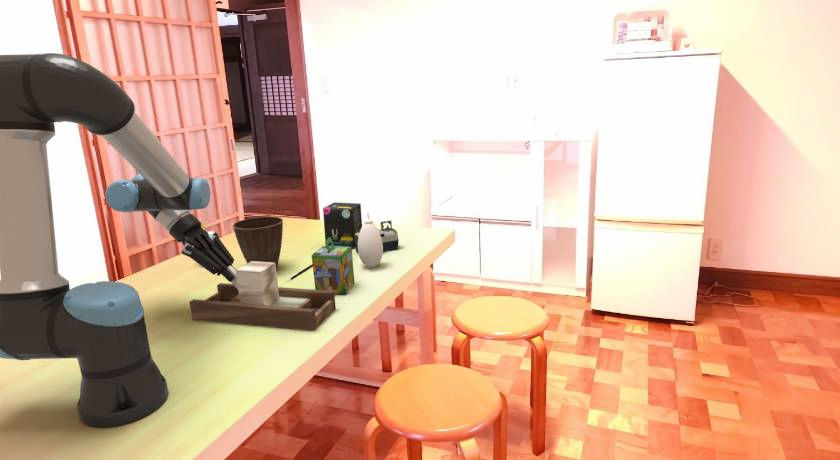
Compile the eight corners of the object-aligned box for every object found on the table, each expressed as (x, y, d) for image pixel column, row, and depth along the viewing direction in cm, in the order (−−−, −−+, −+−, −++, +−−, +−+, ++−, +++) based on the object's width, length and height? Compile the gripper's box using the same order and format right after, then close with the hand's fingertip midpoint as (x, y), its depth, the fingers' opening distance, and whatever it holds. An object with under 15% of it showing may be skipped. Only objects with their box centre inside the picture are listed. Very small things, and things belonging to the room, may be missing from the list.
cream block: (264, 309, 138) (260, 272, 135) (240, 307, 140) (235, 270, 137) (279, 298, 144) (275, 262, 141) (256, 296, 146) (251, 261, 143)
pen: (286, 282, 165) (285, 279, 165) (318, 262, 182) (318, 258, 182) (288, 282, 165) (288, 279, 164) (321, 262, 182) (320, 259, 181)
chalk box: (345, 295, 153) (341, 244, 149) (314, 294, 154) (309, 243, 150) (355, 283, 161) (352, 234, 157) (326, 282, 163) (321, 234, 159)
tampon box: (325, 248, 196) (321, 207, 192) (336, 240, 204) (333, 202, 200) (353, 249, 193) (350, 208, 189) (363, 241, 201) (361, 202, 197)
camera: (359, 257, 184) (357, 229, 181) (354, 251, 191) (352, 223, 188) (402, 251, 189) (400, 223, 186) (395, 245, 196) (393, 218, 193)
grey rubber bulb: (387, 268, 172) (383, 212, 167) (363, 272, 170) (359, 216, 165) (379, 261, 179) (376, 207, 174) (356, 265, 177) (352, 210, 172)
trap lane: (313, 330, 132) (311, 311, 130) (192, 319, 141) (189, 301, 139) (335, 308, 144) (334, 291, 142) (222, 299, 153) (220, 283, 151)
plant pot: (230, 278, 170) (222, 228, 165) (255, 262, 184) (249, 215, 179) (274, 280, 166) (268, 229, 162) (296, 264, 180) (291, 216, 176)
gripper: (188, 225, 150) (250, 286, 150) (155, 239, 138) (221, 305, 138) (202, 207, 147) (265, 269, 148) (170, 219, 135) (238, 287, 136)
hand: (244, 287), depth 143 cm, fingers closed
